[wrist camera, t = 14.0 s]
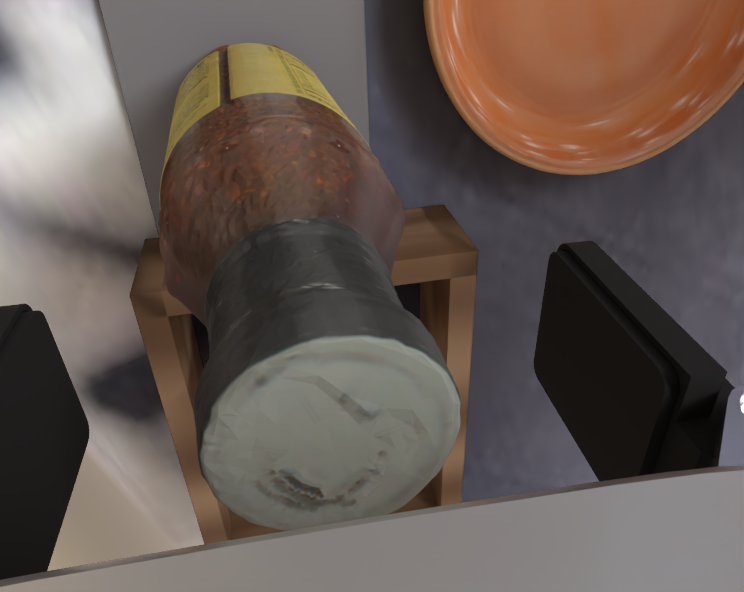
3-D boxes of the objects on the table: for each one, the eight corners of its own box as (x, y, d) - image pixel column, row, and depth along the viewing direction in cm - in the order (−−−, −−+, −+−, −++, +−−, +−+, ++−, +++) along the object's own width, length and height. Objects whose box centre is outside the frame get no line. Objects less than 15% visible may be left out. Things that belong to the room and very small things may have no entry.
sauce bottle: (215, 201, 27) (188, 640, 10) (149, 63, 23) (-45, 392, 7) (351, 154, 27) (538, 516, 11) (306, 10, 24) (481, 210, 7)
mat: (97, -10, 22) (96, -9, 22) (361, -25, 24) (363, -25, 23) (159, 232, 28) (158, 234, 27) (370, 207, 29) (372, 210, 29)
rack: (145, 239, 28) (129, 295, 23) (443, 204, 30) (478, 250, 26) (215, 500, 37) (213, 572, 33) (435, 460, 40) (459, 523, 35)
